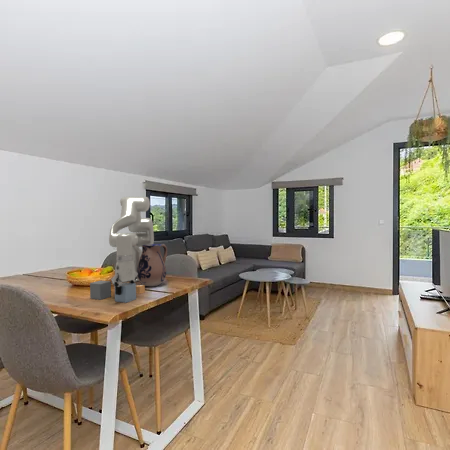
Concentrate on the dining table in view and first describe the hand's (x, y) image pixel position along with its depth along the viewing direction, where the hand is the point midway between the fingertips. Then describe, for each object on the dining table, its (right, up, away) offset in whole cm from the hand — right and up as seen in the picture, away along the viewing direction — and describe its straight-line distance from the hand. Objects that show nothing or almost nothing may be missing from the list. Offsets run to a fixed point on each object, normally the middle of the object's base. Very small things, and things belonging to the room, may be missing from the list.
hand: (125, 292), depth 156 cm
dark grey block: (-15, -4, +6) cm, 17 cm away
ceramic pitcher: (+6, -3, +36) cm, 37 cm away
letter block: (+3, -4, +15) cm, 16 cm away
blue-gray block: (0, -4, 0) cm, 4 cm away
